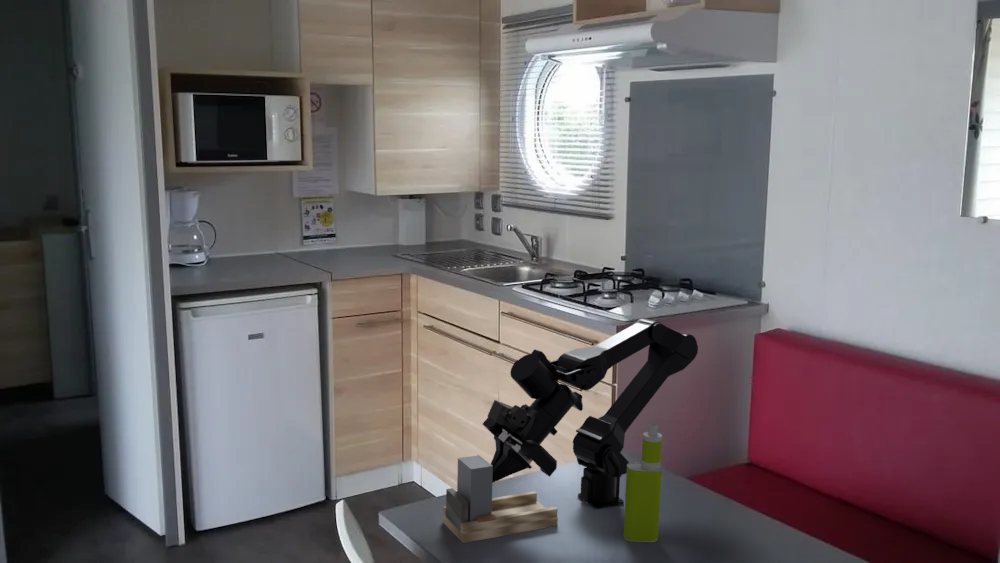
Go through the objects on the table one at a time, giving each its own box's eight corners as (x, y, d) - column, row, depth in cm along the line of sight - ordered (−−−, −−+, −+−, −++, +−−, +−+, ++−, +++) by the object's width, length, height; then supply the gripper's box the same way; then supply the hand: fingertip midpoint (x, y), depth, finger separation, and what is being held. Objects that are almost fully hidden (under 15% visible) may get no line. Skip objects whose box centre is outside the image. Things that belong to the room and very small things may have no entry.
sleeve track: (533, 506, 162) (534, 472, 161) (557, 525, 154) (558, 490, 153) (442, 522, 154) (443, 486, 153) (463, 543, 146) (464, 506, 145)
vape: (660, 542, 148) (666, 428, 145) (624, 541, 149) (630, 427, 146) (657, 532, 152) (663, 421, 149) (622, 531, 152) (628, 420, 149)
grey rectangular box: (477, 509, 155) (479, 455, 153) (491, 522, 150) (492, 465, 148) (456, 513, 153) (457, 458, 152) (469, 525, 148) (471, 469, 147)
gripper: (493, 371, 160) (436, 437, 156) (543, 399, 143) (480, 473, 140) (530, 409, 164) (475, 473, 161) (582, 440, 148) (522, 512, 145)
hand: (486, 482), depth 152 cm, fingers closed, pressing on grey rectangular box
